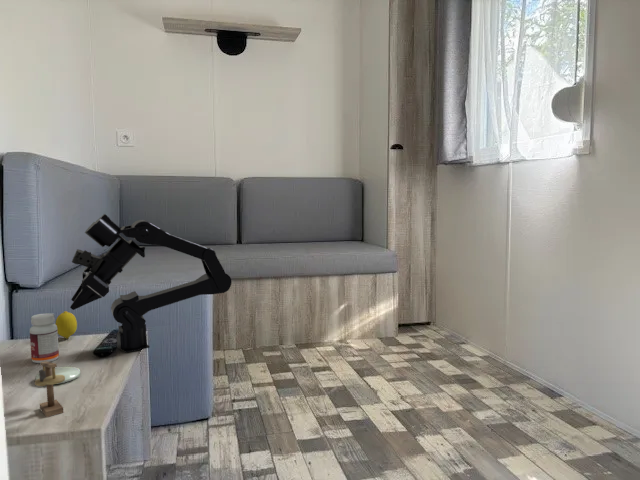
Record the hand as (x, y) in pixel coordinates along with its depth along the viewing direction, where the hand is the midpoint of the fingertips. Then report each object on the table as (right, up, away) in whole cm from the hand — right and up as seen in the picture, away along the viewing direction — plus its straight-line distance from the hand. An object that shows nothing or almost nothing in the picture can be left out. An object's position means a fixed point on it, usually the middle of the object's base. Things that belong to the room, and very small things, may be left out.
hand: (72, 304), depth 131 cm
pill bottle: (-6, -14, -1) cm, 15 cm away
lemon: (-9, -12, +16) cm, 22 cm away
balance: (+10, -17, -30) cm, 36 cm away
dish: (+4, -15, -14) cm, 21 cm away
